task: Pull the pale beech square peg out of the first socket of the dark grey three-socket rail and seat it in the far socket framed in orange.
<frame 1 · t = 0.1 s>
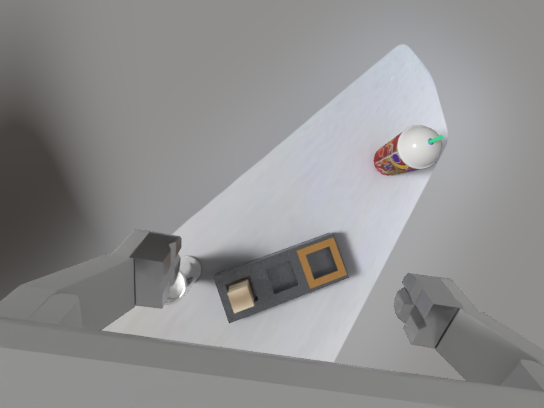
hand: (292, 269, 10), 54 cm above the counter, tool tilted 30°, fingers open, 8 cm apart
socket rail: (280, 274, 64), on the counter
beer glass: (187, 269, 63), on the counter
beech peg: (242, 289, 62), point 1 cm above the counter, touching socket rail
smoothie: (385, 162, 67), on the counter
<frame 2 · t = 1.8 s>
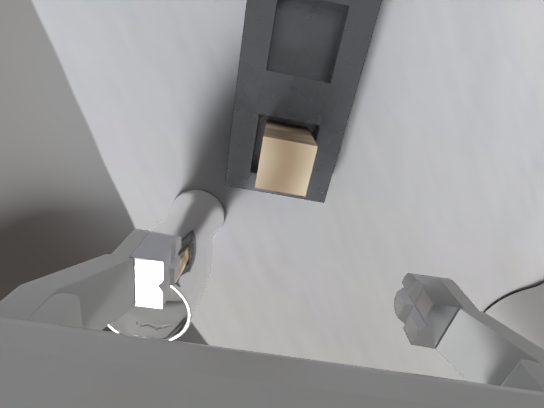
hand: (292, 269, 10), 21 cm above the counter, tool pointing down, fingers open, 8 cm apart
socket rail: (302, 43, 26), on the counter
beer glass: (199, 212, 33), on the counter
beech peg: (283, 143, 29), point 1 cm above the counter, touching socket rail
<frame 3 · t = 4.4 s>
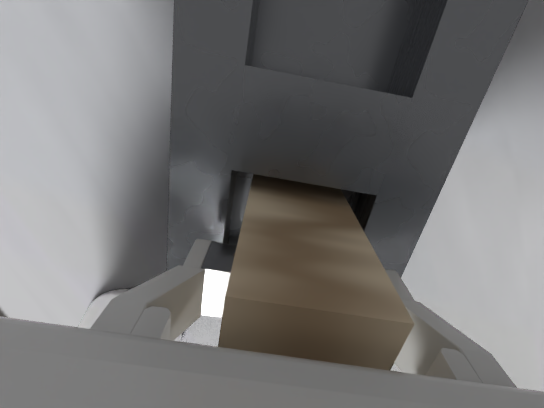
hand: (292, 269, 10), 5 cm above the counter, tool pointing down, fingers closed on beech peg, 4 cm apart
socket rail: (333, 3, 11), on the counter
beer glass: (137, 321, 19), on the counter
beech peg: (288, 217, 14), point 1 cm above the counter, touching gripper, socket rail
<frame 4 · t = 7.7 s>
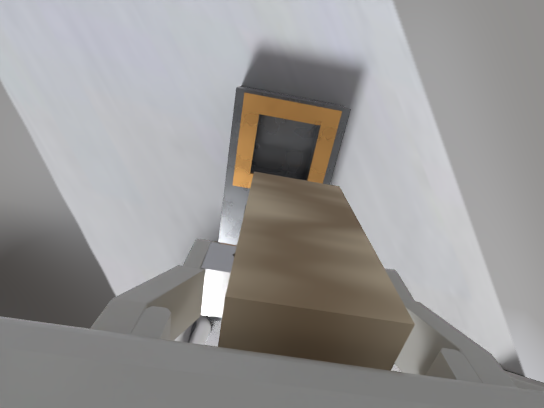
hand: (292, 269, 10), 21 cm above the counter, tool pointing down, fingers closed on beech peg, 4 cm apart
socket rail: (268, 217, 33), on the counter
beer glass: (190, 324, 41), on the counter
beech peg: (288, 217, 14), point 17 cm above the counter, touching gripper
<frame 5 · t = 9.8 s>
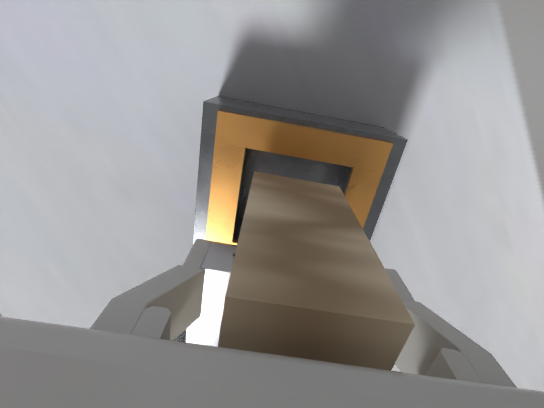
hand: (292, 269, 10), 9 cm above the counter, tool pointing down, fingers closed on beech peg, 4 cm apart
socket rail: (264, 288, 22), on the counter
beech peg: (288, 217, 14), point 5 cm above the counter, touching gripper
when the fingers open (6 cm above the counter, at t = 11.3 s): beech peg stays where it is, resting on socket rail.
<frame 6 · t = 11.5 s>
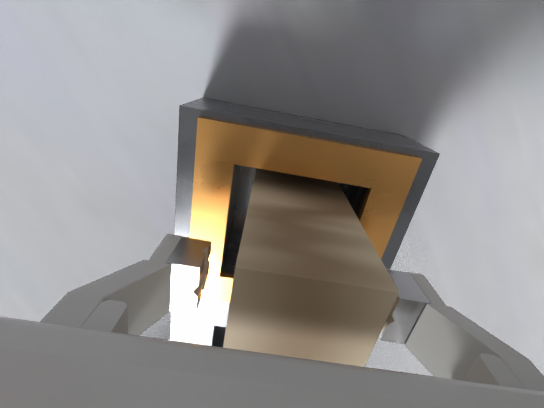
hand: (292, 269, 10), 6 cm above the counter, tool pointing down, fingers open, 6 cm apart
socket rail: (260, 318, 19), on the counter
beech peg: (288, 208, 15), point 1 cm above the counter, touching socket rail
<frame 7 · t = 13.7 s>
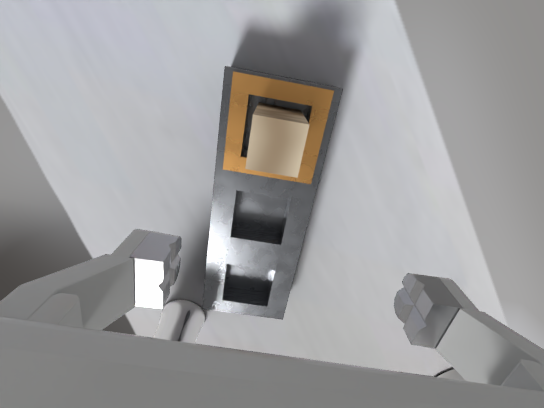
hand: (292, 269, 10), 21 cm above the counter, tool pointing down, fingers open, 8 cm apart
socket rail: (261, 204, 33), on the counter
beer glass: (184, 314, 40), on the counter
beech peg: (275, 127, 28), point 1 cm above the counter, touching socket rail
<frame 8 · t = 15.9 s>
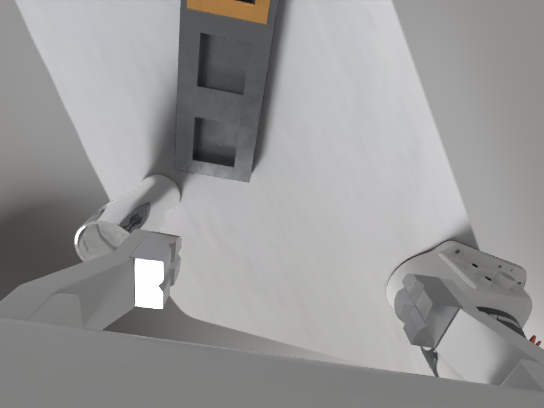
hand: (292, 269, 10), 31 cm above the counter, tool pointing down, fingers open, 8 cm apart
socket rail: (227, 65, 36), on the counter
beer glass: (161, 192, 43), on the counter
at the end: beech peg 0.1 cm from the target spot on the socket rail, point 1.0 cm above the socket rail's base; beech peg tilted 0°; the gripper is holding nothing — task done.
